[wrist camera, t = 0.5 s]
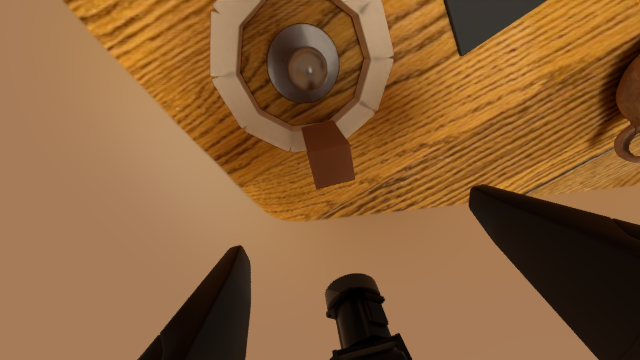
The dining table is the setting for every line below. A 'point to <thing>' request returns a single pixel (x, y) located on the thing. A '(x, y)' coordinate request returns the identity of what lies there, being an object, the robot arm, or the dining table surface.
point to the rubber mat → (483, 19)
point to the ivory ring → (317, 139)
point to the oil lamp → (629, 109)
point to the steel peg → (303, 63)
